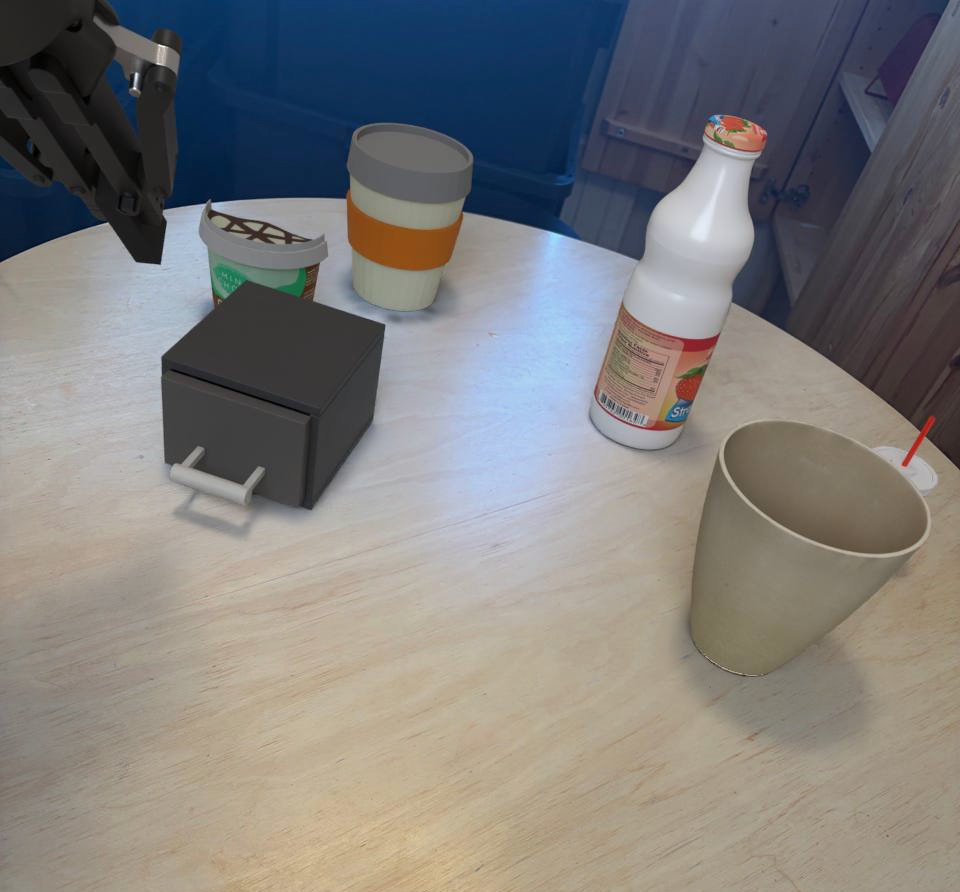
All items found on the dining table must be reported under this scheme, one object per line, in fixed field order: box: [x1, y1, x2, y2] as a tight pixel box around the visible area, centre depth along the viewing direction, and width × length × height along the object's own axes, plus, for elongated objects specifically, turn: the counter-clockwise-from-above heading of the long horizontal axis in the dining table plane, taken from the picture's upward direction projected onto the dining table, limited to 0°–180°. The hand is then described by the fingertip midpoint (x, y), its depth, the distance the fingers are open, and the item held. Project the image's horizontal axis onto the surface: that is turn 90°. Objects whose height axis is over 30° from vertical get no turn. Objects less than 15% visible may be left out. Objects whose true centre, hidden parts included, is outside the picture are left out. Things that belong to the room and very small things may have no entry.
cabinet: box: [160, 280, 387, 511], centre depth 81 cm, size 15×13×10 cm
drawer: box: [160, 370, 311, 508], centre depth 78 cm, size 18×11×8 cm, turn 165°
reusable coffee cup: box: [346, 122, 474, 312], centre depth 102 cm, size 13×13×15 cm
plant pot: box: [690, 417, 933, 675], centre depth 72 cm, size 15×15×16 cm
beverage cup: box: [872, 415, 938, 498], centre depth 85 cm, size 6×6×14 cm
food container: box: [198, 199, 329, 309], centre depth 92 cm, size 12×6×10 cm, turn 76°
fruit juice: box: [589, 114, 768, 451], centre depth 87 cm, size 9×9×28 cm
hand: (151, 241), depth 58 cm, fingers closed
